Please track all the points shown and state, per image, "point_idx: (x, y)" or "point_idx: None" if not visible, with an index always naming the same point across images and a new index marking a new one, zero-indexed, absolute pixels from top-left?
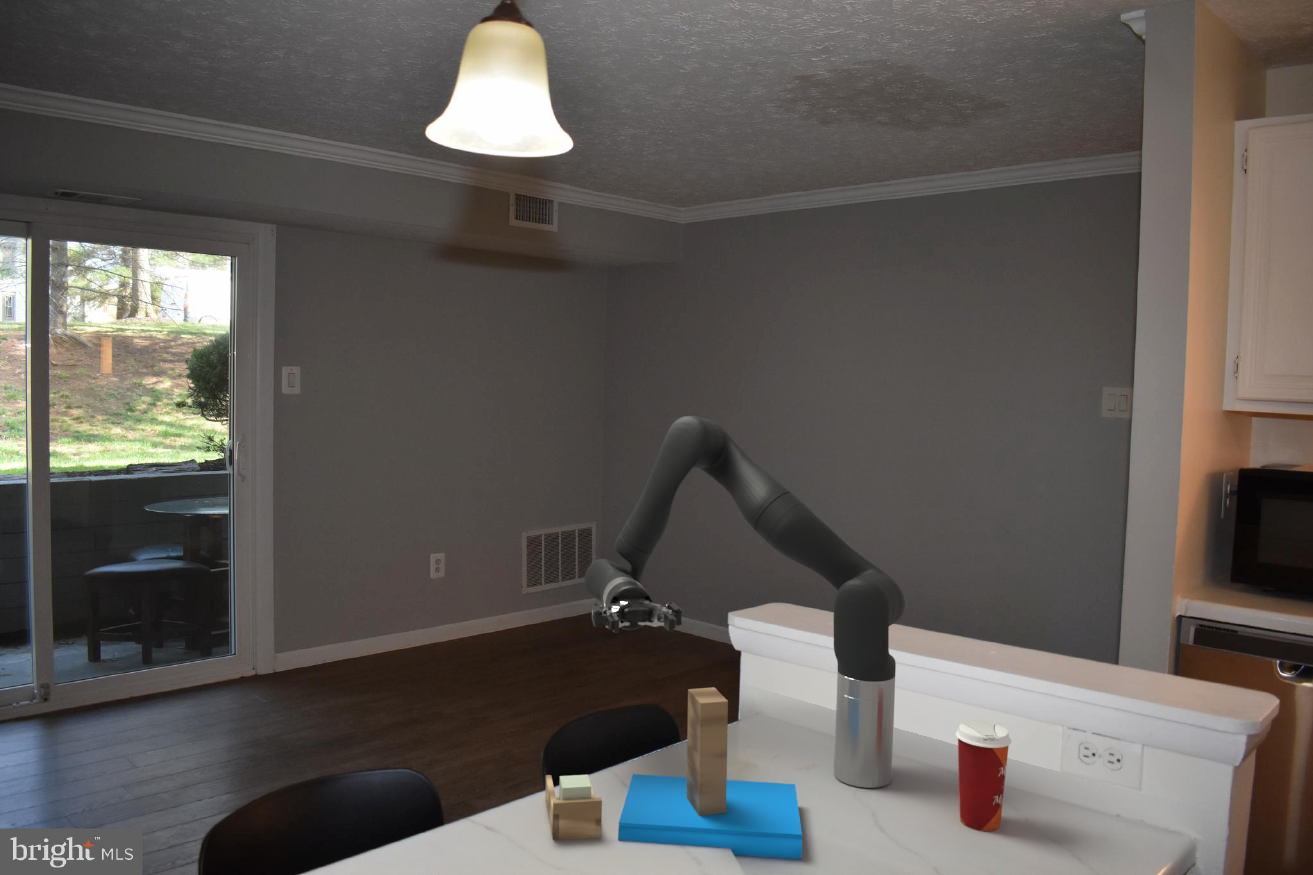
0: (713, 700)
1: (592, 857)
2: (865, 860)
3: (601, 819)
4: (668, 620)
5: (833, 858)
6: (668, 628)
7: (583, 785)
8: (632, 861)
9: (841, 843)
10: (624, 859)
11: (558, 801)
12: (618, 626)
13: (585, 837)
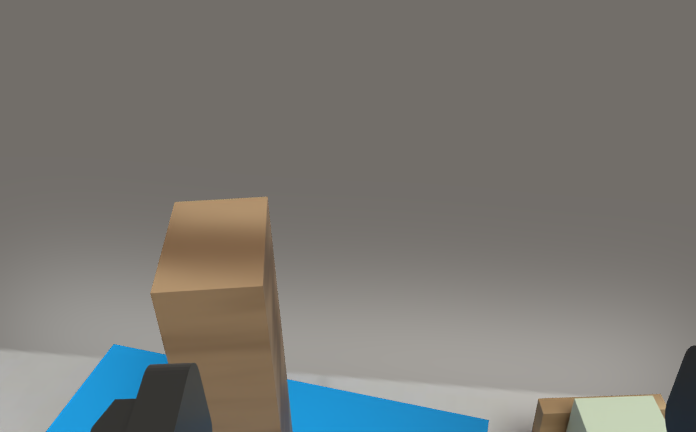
0: (217, 208)
1: None
2: (15, 362)
3: (532, 429)
4: (195, 387)
5: (66, 372)
6: (209, 428)
7: (597, 405)
8: (453, 395)
9: (5, 418)
10: (469, 402)
11: None
12: (679, 378)
13: None
